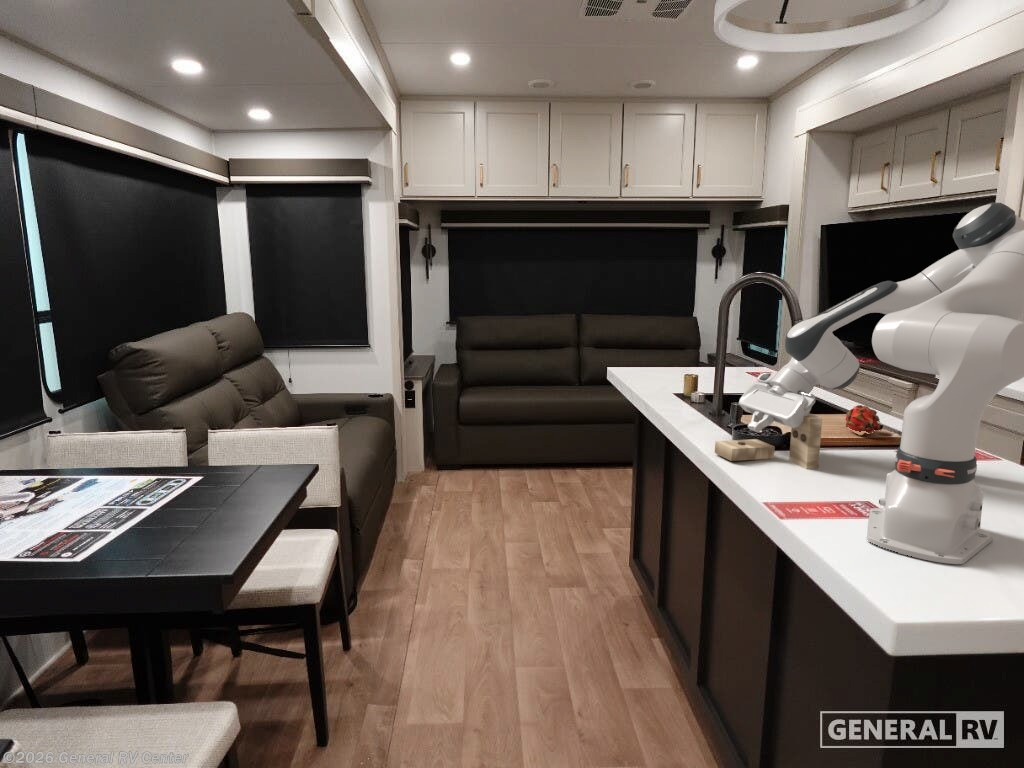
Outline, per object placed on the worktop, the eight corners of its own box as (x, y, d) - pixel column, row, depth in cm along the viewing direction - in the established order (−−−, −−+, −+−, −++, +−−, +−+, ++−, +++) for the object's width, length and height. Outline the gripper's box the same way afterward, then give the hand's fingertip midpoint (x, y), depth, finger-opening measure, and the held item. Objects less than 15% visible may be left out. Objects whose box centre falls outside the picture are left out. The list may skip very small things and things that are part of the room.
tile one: (756, 437, 164) (715, 439, 161) (775, 445, 157) (732, 447, 154) (755, 451, 165) (714, 453, 161) (773, 459, 158) (730, 462, 155)
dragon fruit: (856, 433, 185) (869, 451, 174) (832, 416, 185) (844, 432, 174) (878, 411, 182) (893, 428, 171) (854, 394, 181) (868, 409, 170)
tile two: (801, 459, 157) (805, 411, 155) (819, 468, 150) (823, 418, 148) (788, 459, 157) (791, 411, 154) (805, 469, 150) (809, 418, 148)
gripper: (826, 404, 151) (788, 449, 150) (769, 388, 170) (735, 427, 169) (811, 387, 149) (773, 432, 148) (755, 373, 168) (721, 412, 167)
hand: (752, 429), depth 159 cm, fingers closed
